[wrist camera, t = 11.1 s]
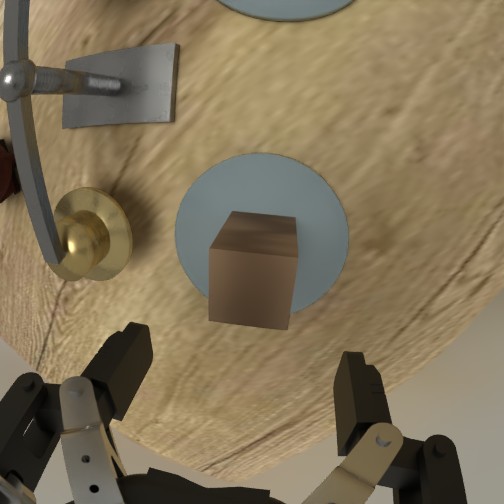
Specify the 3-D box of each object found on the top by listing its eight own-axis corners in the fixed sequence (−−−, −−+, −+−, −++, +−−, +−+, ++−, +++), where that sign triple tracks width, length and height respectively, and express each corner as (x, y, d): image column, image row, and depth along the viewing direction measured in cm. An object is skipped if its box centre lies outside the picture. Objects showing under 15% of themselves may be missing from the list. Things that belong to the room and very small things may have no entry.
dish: (358, 164, 21) (361, 165, 20) (330, 317, 26) (331, 324, 25) (179, 148, 22) (175, 149, 21) (181, 300, 27) (177, 306, 26)
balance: (195, -65, 14) (129, -160, 2) (174, 261, 25) (90, 376, 13) (92, -41, 15) (-5, -89, 2) (78, 249, 26) (-22, 329, 14)
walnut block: (295, 217, 22) (298, 257, 15) (288, 274, 24) (287, 330, 17) (232, 210, 22) (209, 248, 16) (229, 267, 24) (208, 320, 18)
